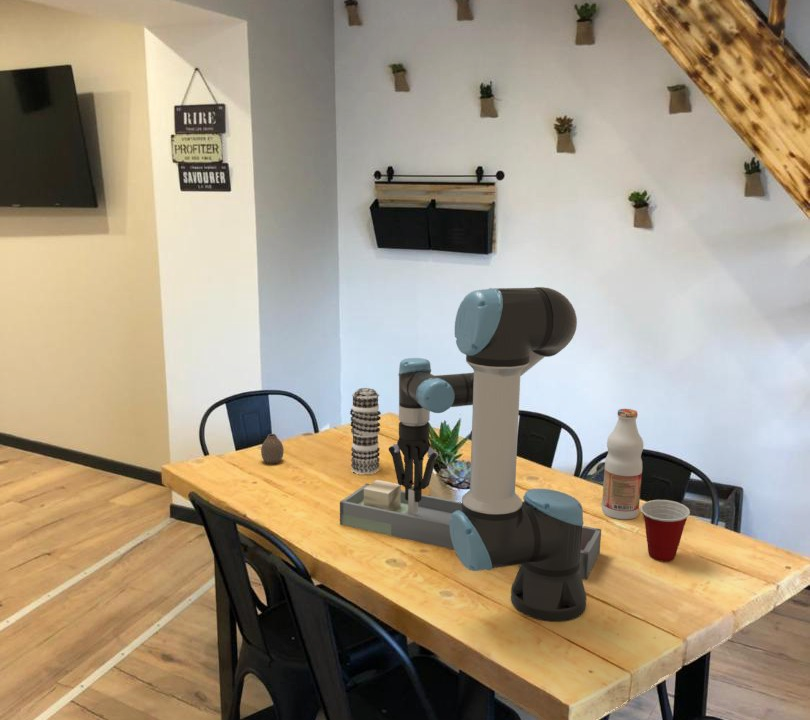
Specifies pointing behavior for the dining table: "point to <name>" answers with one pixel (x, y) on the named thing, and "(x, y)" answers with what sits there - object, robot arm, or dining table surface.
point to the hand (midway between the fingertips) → (413, 512)
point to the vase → (272, 449)
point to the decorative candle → (365, 431)
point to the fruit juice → (623, 468)
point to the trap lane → (435, 524)
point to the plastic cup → (664, 527)
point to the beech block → (383, 495)
